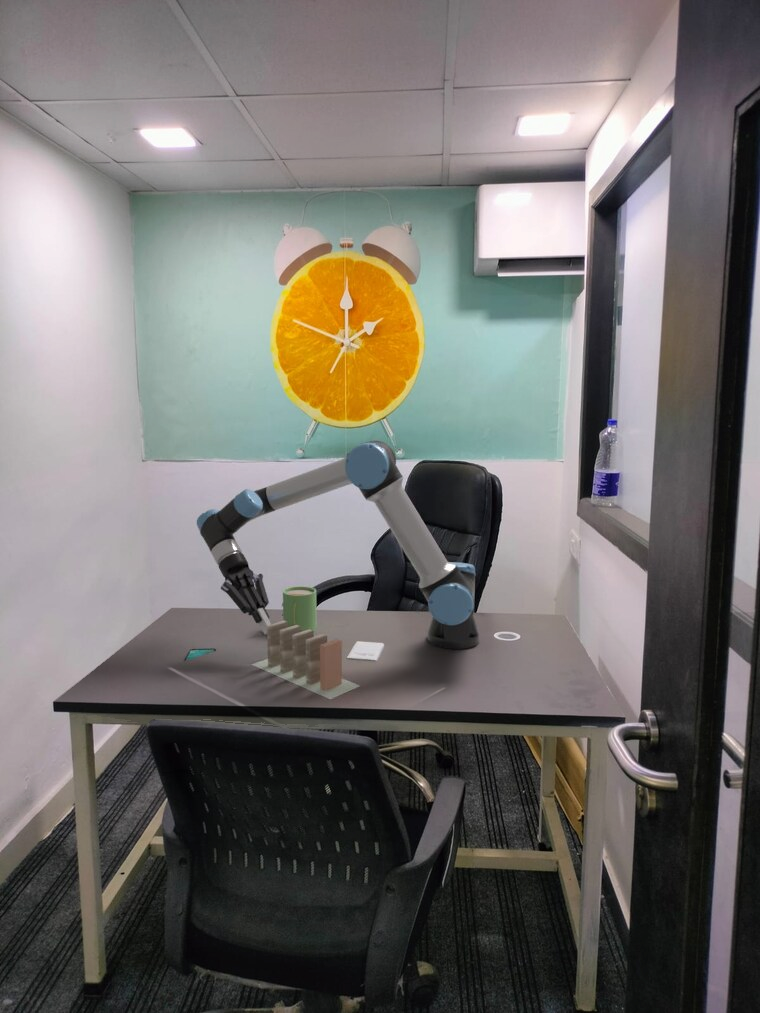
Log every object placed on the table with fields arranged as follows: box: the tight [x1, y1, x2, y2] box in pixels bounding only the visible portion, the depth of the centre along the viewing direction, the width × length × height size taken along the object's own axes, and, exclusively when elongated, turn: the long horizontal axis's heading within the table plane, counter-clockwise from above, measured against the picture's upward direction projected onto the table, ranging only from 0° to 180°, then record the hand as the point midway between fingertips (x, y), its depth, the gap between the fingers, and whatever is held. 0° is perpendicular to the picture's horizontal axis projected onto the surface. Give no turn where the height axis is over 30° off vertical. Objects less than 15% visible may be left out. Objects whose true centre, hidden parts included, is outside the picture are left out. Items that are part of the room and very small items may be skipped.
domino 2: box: [280, 625, 301, 673], centre depth 165 cm, size 2×6×11 cm, turn 138°
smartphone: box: [184, 648, 217, 661], centre depth 173 cm, size 7×1×15 cm
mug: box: [281, 585, 318, 632], centre depth 196 cm, size 13×10×12 cm
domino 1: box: [266, 620, 288, 668], centre depth 168 cm, size 2×6×11 cm, turn 138°
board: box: [251, 658, 360, 700], centre depth 162 cm, size 30×10×1 cm, turn 48°
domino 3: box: [292, 629, 315, 679], centre depth 161 cm, size 2×6×11 cm, turn 138°
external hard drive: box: [346, 640, 385, 662], centre depth 178 cm, size 2×8×12 cm
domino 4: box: [306, 633, 328, 685], centre depth 158 cm, size 2×6×11 cm, turn 138°
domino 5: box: [320, 638, 343, 691], centre depth 155 cm, size 2×6×11 cm, turn 138°
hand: (269, 631), depth 170 cm, fingers closed
